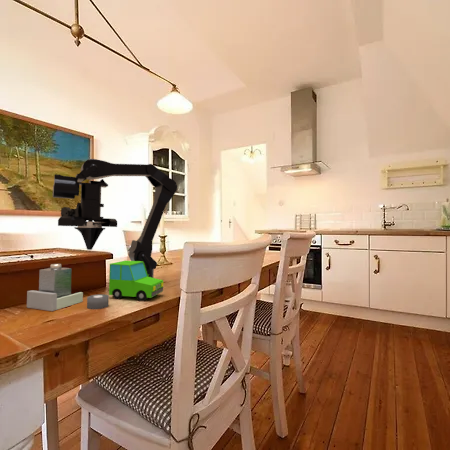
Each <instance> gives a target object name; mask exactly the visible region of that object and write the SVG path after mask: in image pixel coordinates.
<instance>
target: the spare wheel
mask: <svg viewBox="0 0 450 450" xmlns="http://www.w3.org/2000/svg"><path fill="white" fill-rule="evenodd" d="M109 298H110V295H109V294H102V293H100V294H99V293H98V294H92V295H89V296H87V298H86V300H87V301H86V309H89V310H101V309H105V308H108V307H109V303H110V301H109Z"/></svg>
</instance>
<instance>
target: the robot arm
mask: <svg viewBox="0 0 450 450" xmlns="http://www.w3.org/2000/svg"><path fill="white" fill-rule="evenodd" d="M109 177H145V178H146V179H147V181H149V183H150V184H151V185H152V186H153V187H154V188H155V190H154V200H153V203H152V206H151V209H150V211H149V213H148V217H147V218H146V221H145V224H144V226H143V227H142V231H141V234H140V236H139V238H137V240H134V239H133V240H131V243H130V246H129V248H128V250H127V251H128V257H129V261H143V262H144V265H145V268H146V271H147V275H148V277H152V278H154V271H155V269H157V265H158V262H157V261H156V260H155V259H154V258H153V257H152V253H153V240H154V238H155V234H156V232H157V229H158V227H159V225H160V222H161V219H162V217H163V214H164V212H165V209H166V206H167V205H168V203H169V202H170V201H171V200H172V199H173V197H174V195H175V194H176V192H177V190H178V184H177V182H176V181H175V180H174V179H172V178H171V177H169V176H168V175H167V174H165V172H163V171H162V170H160V169H159V168H157V167H156V165H154V164H152V163H148V164H145V163H144V164H142V163H137V164H136V163H133V164H132V163H113V162H109V161H106V160H101V159H95V158H89V159H87V160H86V161H84V163H83V164H82V165H81V168H80V172H79V173H76V174H75V176H67V175H61V174H57V173H55V174H54V177H53V186H52V198H57V199H71V200H75V198H76V197H79V196H80V202H77V204H76V208H70V207H68V206H63V207H62V208H61V209H60V217H59V218H58V220H57V226H58V227H73V228H74V229H75V230H77V232H78V231H79V233H80V234H81V236H82V239H83V241H84V245H85V247H86V249H87V251H90V250H93V249H94V246H95V244H96V242H97V241H98V239H99V237H100V236H101V234H102V233H103V231H105V230H106V227H107V228H109V227H110V228H117V227H118V221H117V219H116V218H108V217H107V218H104V216H101V215H102V214H101V213H102V212H101V209H102V208H104V207H105V205H104V203H102V188H103V189H105V188H107V187H109V184H108V183H107V182H106V181H105V180H104V178H109ZM87 180H88V182H85V181H87Z"/></svg>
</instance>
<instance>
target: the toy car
mask: <svg viewBox="0 0 450 450" xmlns="http://www.w3.org/2000/svg"><path fill="white" fill-rule="evenodd" d="M108 275H109V278H108V279H109V281H108V296H112V298H114V299H115V300H121V299H122V298H123V297H130V298H131V297H133V298H134V297H135V298H136V299H137V300H138V301H139V302H144V301H146V300H147V299H148V298H149V299H151V298H153V297H156V296H157V295H159V294H160V293H162V292H163V291H164V279H160V278H156V277H153V278H152V277H148V275H147V271H146V268H145V265H144V262H143V261H131V260H121V261H117V262H112V263H111V262H110V263H109V274H108Z"/></svg>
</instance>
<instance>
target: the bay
mask: <svg viewBox="0 0 450 450" xmlns="http://www.w3.org/2000/svg"><path fill="white" fill-rule="evenodd" d="M83 295H84V292H82V291H79V292H75V293H71V295H68V296H64V297H60V298H57V293H50V292H42V291H39V290H33V289H32V290H27V291H26V308H27V309H35V310H42V311H48V312H54V311H56V310H57V311H58V310H61V309H64V308H66V307H70V306H72V305H76V304H79V303H82V302H83V301H84V296H83Z"/></svg>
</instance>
